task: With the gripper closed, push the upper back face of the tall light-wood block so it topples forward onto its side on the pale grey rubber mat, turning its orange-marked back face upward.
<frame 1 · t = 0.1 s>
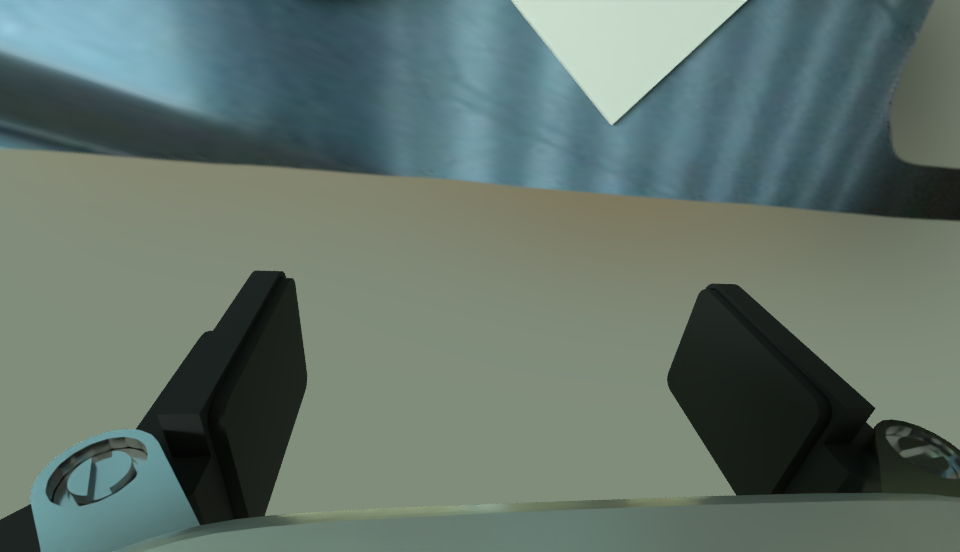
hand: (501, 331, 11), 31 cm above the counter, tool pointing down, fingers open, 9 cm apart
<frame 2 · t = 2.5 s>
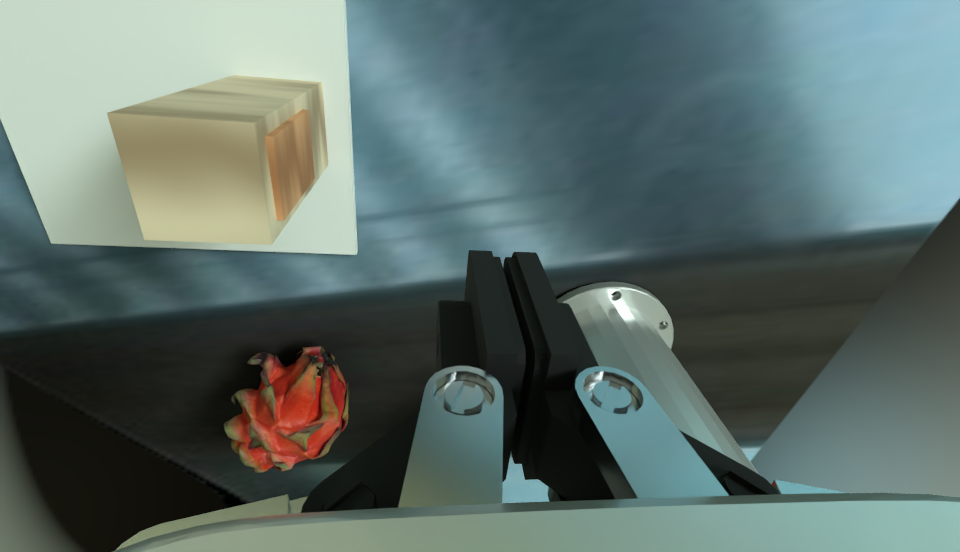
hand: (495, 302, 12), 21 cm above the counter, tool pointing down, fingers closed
wood block: (283, 122, 28), point 1 cm above the counter, touching mat
dragon fruit: (304, 373, 39), on the counter
mat: (184, 113, 28), on the counter
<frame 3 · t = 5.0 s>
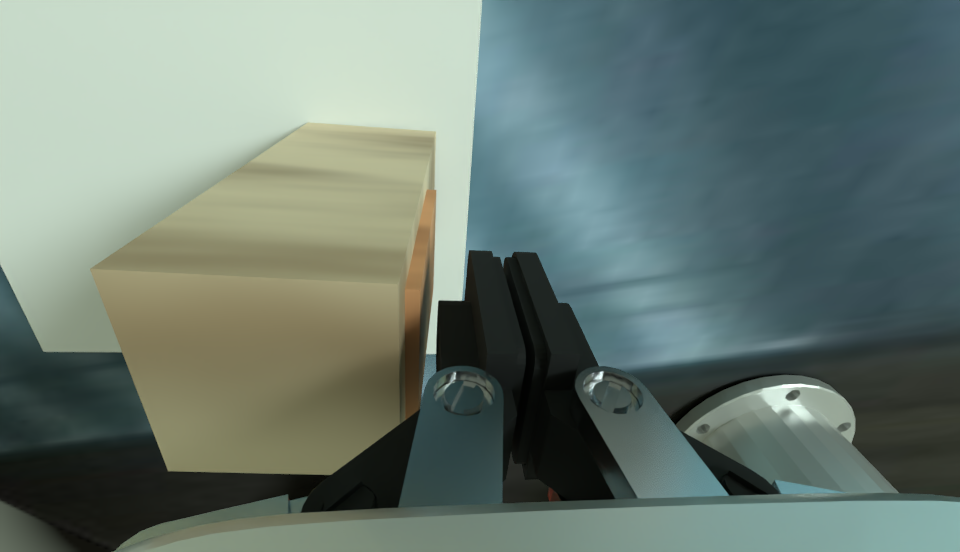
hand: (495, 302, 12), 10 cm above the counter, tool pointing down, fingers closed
wood block: (374, 187, 19), point 1 cm above the counter, touching gripper, mat
mat: (231, 175, 19), on the counter
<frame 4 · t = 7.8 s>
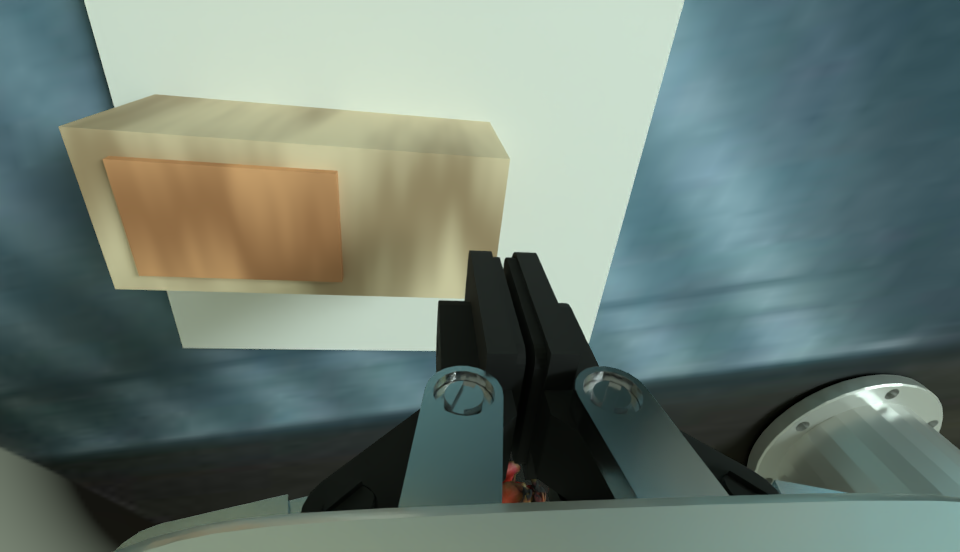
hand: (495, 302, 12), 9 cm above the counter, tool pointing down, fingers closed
wood block: (490, 206, 17), point 3 cm above the counter, tilted 90°, touching mat
dragon fruit: (471, 483, 31), on the counter
mat: (399, 173, 19), on the counter
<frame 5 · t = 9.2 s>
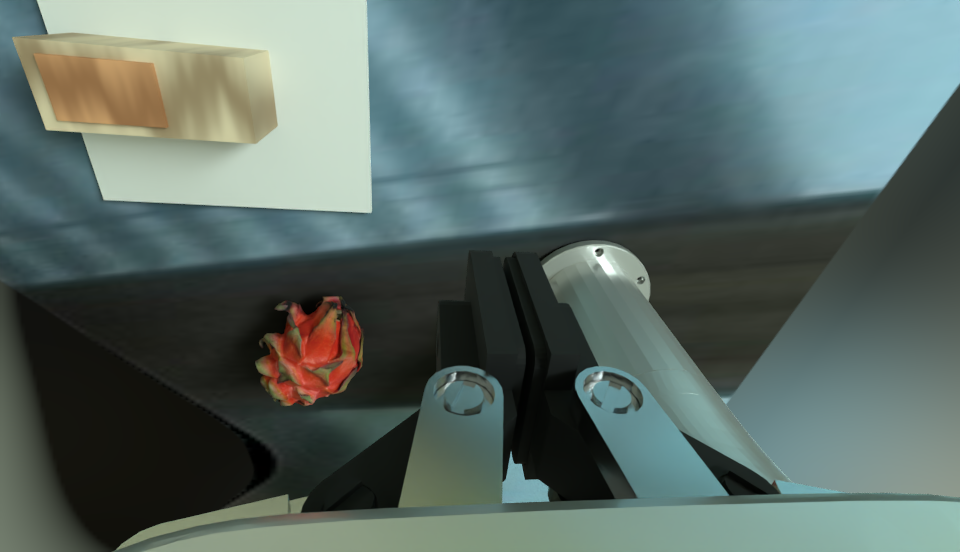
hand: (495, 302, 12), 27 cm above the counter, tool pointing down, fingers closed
wood block: (262, 95, 30), point 3 cm above the counter, tilted 90°, touching mat
dragon fruit: (321, 323, 44), on the counter
mat: (224, 84, 32), on the counter
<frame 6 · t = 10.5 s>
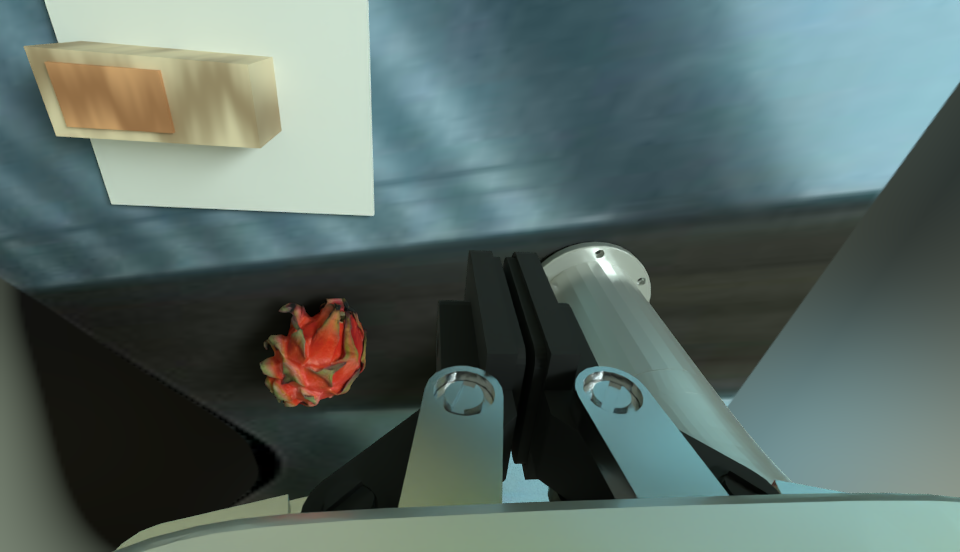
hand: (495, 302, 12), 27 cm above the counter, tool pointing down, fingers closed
wood block: (266, 101, 31), point 3 cm above the counter, tilted 90°, touching mat
dragon fruit: (325, 325, 44), on the counter
mat: (229, 90, 33), on the counter
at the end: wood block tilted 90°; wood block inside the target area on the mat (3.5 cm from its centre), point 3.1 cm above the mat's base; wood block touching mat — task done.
